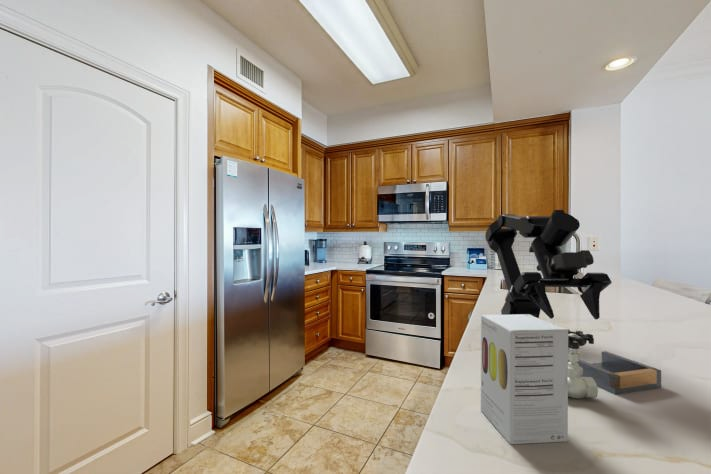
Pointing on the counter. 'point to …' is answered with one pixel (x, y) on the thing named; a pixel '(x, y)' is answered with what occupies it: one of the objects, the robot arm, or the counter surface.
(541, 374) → the supplement box
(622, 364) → the grey wooden tray
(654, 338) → the counter surface
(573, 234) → the robot arm
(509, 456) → the counter surface
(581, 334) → the valve
